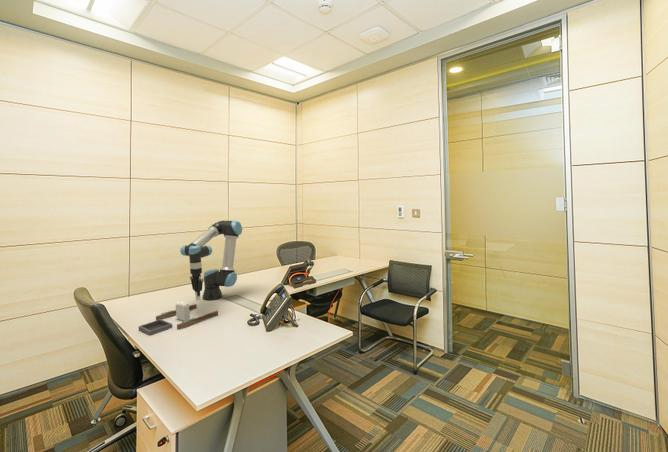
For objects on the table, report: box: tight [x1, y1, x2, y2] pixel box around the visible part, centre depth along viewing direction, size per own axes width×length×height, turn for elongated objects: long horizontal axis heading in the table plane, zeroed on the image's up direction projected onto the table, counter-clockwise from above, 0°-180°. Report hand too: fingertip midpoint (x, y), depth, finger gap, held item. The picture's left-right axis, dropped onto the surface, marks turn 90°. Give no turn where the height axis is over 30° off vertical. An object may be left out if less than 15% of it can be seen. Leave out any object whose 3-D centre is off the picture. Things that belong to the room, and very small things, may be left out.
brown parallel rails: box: [155, 303, 219, 330], centre depth 224 cm, size 28×30×4 cm
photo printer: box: [175, 300, 191, 321], centre depth 221 cm, size 10×4×12 cm, turn 63°
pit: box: [137, 319, 173, 336], centre depth 206 cm, size 14×14×2 cm
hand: (198, 300), depth 231 cm, fingers closed
